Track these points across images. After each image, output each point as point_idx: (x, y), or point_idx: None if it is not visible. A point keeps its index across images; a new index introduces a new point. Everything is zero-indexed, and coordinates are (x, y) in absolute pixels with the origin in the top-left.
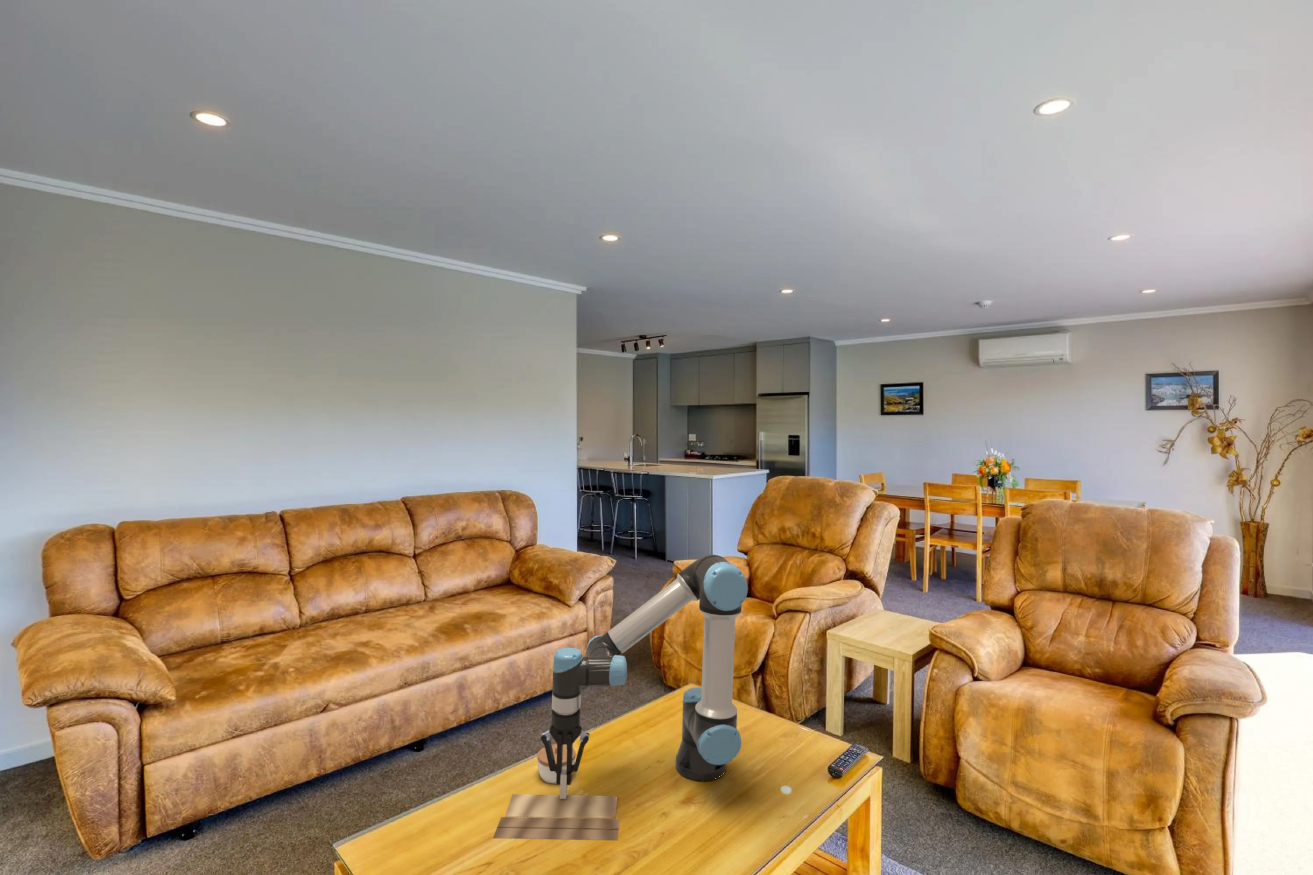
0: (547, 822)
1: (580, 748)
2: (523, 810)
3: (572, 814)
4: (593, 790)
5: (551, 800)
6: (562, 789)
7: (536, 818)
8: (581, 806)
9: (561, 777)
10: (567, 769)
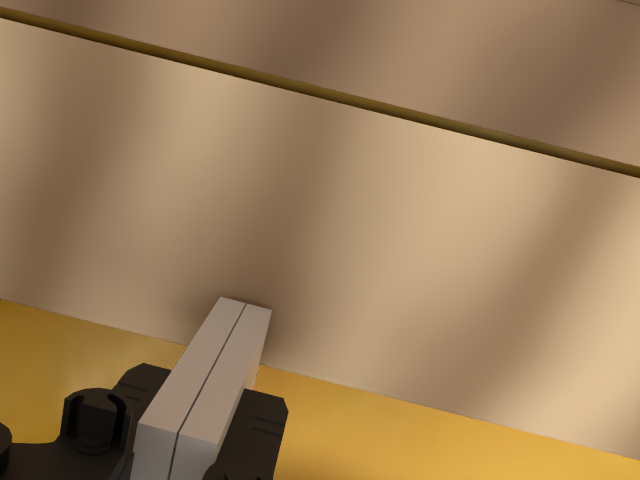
0: (411, 37)
1: None
2: (608, 249)
3: (176, 101)
4: (22, 425)
5: (347, 317)
6: (232, 342)
7: (504, 118)
8: (90, 184)
9: (214, 418)
10: (95, 472)
